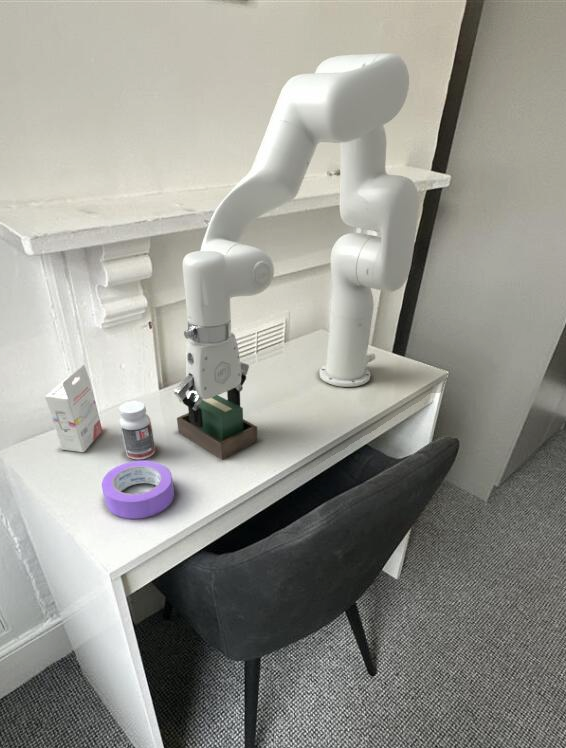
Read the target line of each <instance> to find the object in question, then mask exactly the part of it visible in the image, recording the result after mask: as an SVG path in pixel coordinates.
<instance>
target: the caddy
mask: <svg viewBox="0 0 566 748" xmlns="http://www.w3.org/2000/svg"><path fill="white" fill-rule="evenodd" d="M176 423H177V430H178V434H180V435H182V436H183V437H185V438H187V439H188V440H189V441H191V442H193V443H194V444H196V445H198V446H199V447H200V448H202V449H204V450H206V451H208V452H209V453H211V454H212V455H214V457H216V458H219V459H220V460H224V459H226V458H227V457H230V456H232V455H234V454H236V453H238V452H240V451H242V450H244V449H245V448H247V447H250V446H251V445H253V444H255V443H257V442H258V426H257V425H255V424H253V423H251V422H250V421H248V420H245V419H244V418H243V431H242V432H240V433H238V434H236V435H234V436H232V437H230V438H228V439H226V440H224V441H222V442H221V441H220V440H218V439H216V438H215V437H213V436H211V435H209V434H208V433H206V432H204V431H203V430H201V429H199V428H198V427H196V426H194V425H192V424H191V422H190V419H189V412H187V413H184V414H183V415H181V416H177V417H176Z"/></svg>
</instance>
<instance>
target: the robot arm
mask: <svg viewBox="0 0 566 748" xmlns="http://www.w3.org/2000/svg"><path fill="white" fill-rule="evenodd" d="M409 87H410V75H409V70H408V66H407V64H406V62H405V60H403V58H402V57H401V56H399V55H398V54H395V53H391V52H383V53H380V52H379V53H365V54H358V53H357V54H356V53H355V54H344V55H336V56H335V55H334V56H331V57H329V58H326V59H324V60H323V61H322V62H321V63H320V64H319V65H318V66H317V68H316V69H315V72H310V73H301V74H297V75H294V76H292V77H291V78H289V79H288V80H287V81H286V82H285V84H284V85H283V86H282V88H281V91H280V93H279V95H278V98H277V100H276V103H275V106H274V108H273V112H272V113H271V116H270V119H269V121H268V123H267V124H268V125H267V127H266V130H265V133H264V136H263V138H262V140H261V143H260V145H259V148H258V150H257V153H256V155H255V158H254V161H253V163H252V166H251V168H250V170H249V172H247V174H246V175H245V176H244V177H242V178H241V180H239V181H238V182H237V183H236V185H234V187H233V188H232V189H231V190H230V191H229V192H228V194H227V195H226V196H225V197H224V198H223V199H222V200H221V201H220V203H219V204H218V206H217V207H216V208H215V211H214V212H213V214H212V216H211V218H210V221H209V223H208V225H207V228H206V231H205V234H204V237H203V240H202V242H201V246H200V250H197V251H192V252H189V253H187V254H186V255H185V256H184V257H183V259H182V276H183V286H184V288H183V289H184V296H185V306H186V317H187V318H186V319H187V330H185V331H183V337H184V338H185V339H186V347H185V348H186V349H185V379H183V381H181V383H180V384H178V385H177V387H176V388H175V389H174V391H173V393H174V395H175V396H176V397H177V399H178V401H179V402H180V403H182V404H183V405H185V406H186V407H187V409H188V413H189V419H190V422H191V423H192V424H194V425H195V426H197V427H199V428H201V427H203V419H202V410H201V408H199V406H200V404H201V402H202V400H203V399H209V398H212V397H214V396H217V395H218V396H220V395H221V394H224V393H226V394H227V400H228V401H230V402H232V403H234V404H236V405H238V406H240V407H241V392H242V391H243V389H244V388H243V385H244V383H245V381H246V380H247V375H248V373H249V368H250V365H249V364H248V363H245V362H243V361H241V356H240V349H239V346H238V342H237V341H238V340H237V338H236V334H235V333H234V332H232V320H231V319H232V316H231V315H232V314H231V312H232V311H231V299H232V298H235V297H237V298H238V297H252V296H255V295H260V294H261V293H263V292H264V291H266V290H267V289H268V288H269V286H270V285H271V283H272V281H273V279H274V274H275V266H274V263H273V260H272V258H271V256H270V255H268V253H267V252H266V251H264V250H262V249H261V248H258V247H255V246H252V245H248V244H244V243H240V240H241V238H242V237H243V235H244V233H245V232H246V230H247V229H248V228H249V227H250V225H251V224H252V223H254V221H255V220H257V219H259V218H260V217H262V216H263V215H265V214H267V213H269V212H271V211H274V210H275V209H277V208H280V207H282V206H284V205H286V204H288V203H290V202H291V201H293V200H294V199H295V198H296V197H297V196H298V193H299V191H300V189H301V186H302V184H303V181H304V178H305V177H306V173H307V171H308V169H309V166H310V164H311V161H312V158H313V156H314V154H315V152H316V149H317V147H318V145H319V144H320V143H331V144H339V149H340V169H339V171H340V172H339V214H340V218H341V220H342V222H343V223H344V224H345V225H347V226H350V227H352V228H356V229H360V230H365V231H372V232H377V233H380V236H377V235H372V234H367V233H361V232H349V233H346V234H344V235H342V236H341V237H339V238H338V239H337V240H336V241H335V242H334V245H333V247H332V249H331V253H330V273H331V287H332V289H331V293H332V294H331V295H332V296H331V306H330V309H331V310H330V319H329V329H328V339H327V340H328V341H327V351H326V352H327V353H326V364H324V365H323V366H321V368H319V372H318V373H319V378H320V379H321V380H322V381H323V382H325V383H327V384H329V385H332V386H336V387H342V388H354V387H359V386H362V385H365V384H366V383H368V382H369V381H370V379H371V371H370V370H369V369H368V368H367V365H368V364H369V363H370V362H373V361H374V360H376V354H375V353H374V352H370V353H368V348H369V342H370V335H371V326H372V319H373V315H374V305H375V304H374V295H373V292H372V289H374V290H378V291H382V292H389V293H390V292H396V291H398V290H400V289H401V288H402V287H403V286H404V284H405V283H406V281H407V280H408V277H409V274H410V271H411V267H412V261H413V255H414V254H413V253H414V247H415V240H416V232H417V225H418V216H419V207H420V206H419V205H420V201H419V200H420V199H419V191H418V189H417V186H416V184H415V182H414V181H413V180H412V179H410V178H409V177H407V176H404V175H398V174H397V175H396V174H390V173H389V174H388V173H387V171H386V159H387V134H386V130H385V129H386V128H385V126H384V125H386V124H388V123H390V122H391V121H392V120H394V119H395V117H396V116H397V115H398V114H399V113H400V111H401V110H402V108H403V106H404V104H405V102H406V99H407V97H408V92H409ZM187 392H188V395H187ZM195 397H196V399H195V401H194V402H193V399H194V398H195Z"/></svg>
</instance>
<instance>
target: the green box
mask: <svg viewBox="0 0 566 748" xmlns="http://www.w3.org/2000/svg"><path fill="white" fill-rule="evenodd" d="M196 397H197V396H195V397H194V399H193V402H194V401H195V399H196ZM199 408H201V410H202V419H203V427H201V428H199V427H198V428H199V429H201V430H203V431H204V432H206V433H208V434H209V435H211V436H213V437H215V438H216V439H218V440H220V441H221V442H222V441H224V440H226V439H228V438H230V437H232V436H234V435H236V434H238V433H240V432H242V431H243V419H244V408H243V407H242V406H241V405H240V406H238V405H236V404H234V403H232V402H230V401H228V399H226V398H224V397H222V396H220V395H217V396H214V397H212V398H209V399H203V400H202V402H201V404H200V406H199ZM191 424H192V423H191ZM192 425H194V424H192ZM194 426H195V425H194ZM196 427H197V426H196Z"/></svg>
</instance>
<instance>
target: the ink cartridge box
mask: <svg viewBox="0 0 566 748" xmlns="http://www.w3.org/2000/svg"><path fill="white" fill-rule="evenodd" d="M44 398H45V401H46V404H47V407H48V410H49V414H50V416H51V419H52V422H53V426H54V428H55V431H56V435H57V438H58V440H59V444H60V447H61V450H62V451H70V452H79V453H85V451H86V450H87V449H88V448H89V447H90V446H91V445H92V444H93V442H94V441H95V440H96V439H97V438H98V436H99V435H100V434H101V433H102V432H103V428H102V423H101V418H100V415H99V411H98V406H97V403H96V399H95V395H94V391H93V387H92V382H91V379H90V377H89V374H88V371H87V368H86V366H85V364H83V365H81V366H80V367H79V368H78V369H77V370H75V371H74V372H73V373H71V374H70V375H69V376H67V377H66V378H65V379H64V380H62V381H61V382H60V383H59V384H58V385H57V386H55V387H54V388H53V389H52V390H51V391H50V392H48V393H46V394H45V395H44Z"/></svg>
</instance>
